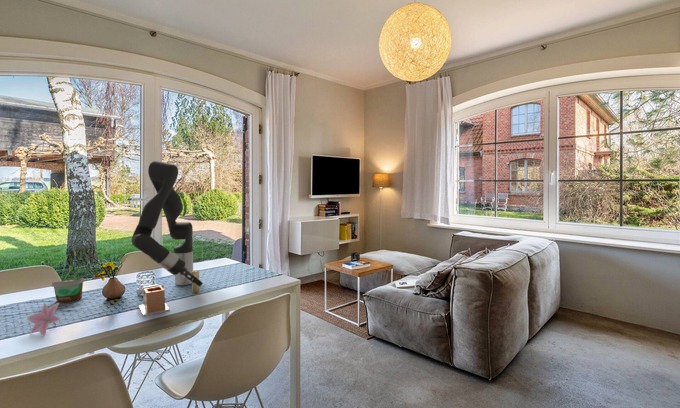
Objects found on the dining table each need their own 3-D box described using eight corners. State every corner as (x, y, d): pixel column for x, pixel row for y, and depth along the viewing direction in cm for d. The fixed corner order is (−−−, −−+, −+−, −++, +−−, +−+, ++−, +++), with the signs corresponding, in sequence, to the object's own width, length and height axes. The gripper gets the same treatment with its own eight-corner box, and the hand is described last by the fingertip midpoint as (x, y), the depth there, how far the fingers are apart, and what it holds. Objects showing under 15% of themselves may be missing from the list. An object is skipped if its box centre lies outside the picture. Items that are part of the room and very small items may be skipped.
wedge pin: (191, 293, 168) (190, 271, 167) (198, 292, 170) (197, 269, 169) (193, 295, 165) (192, 272, 164) (200, 293, 167) (199, 271, 166)
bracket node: (138, 307, 154) (137, 286, 154) (163, 302, 161) (162, 282, 160) (143, 316, 144) (142, 294, 143) (169, 310, 150) (168, 289, 149)
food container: (49, 306, 156) (47, 284, 155) (53, 301, 161) (51, 280, 160) (83, 301, 162) (81, 280, 161) (85, 297, 167) (84, 277, 166)
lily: (29, 330, 133) (16, 314, 128) (63, 311, 141) (52, 295, 136) (40, 348, 127) (27, 332, 122) (76, 326, 135) (65, 310, 130)
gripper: (181, 259, 155) (210, 281, 164) (174, 253, 167) (201, 274, 175) (169, 273, 153) (198, 294, 161) (162, 266, 164) (190, 286, 172)
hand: (200, 283), depth 168 cm, fingers closed on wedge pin, 3 cm apart
